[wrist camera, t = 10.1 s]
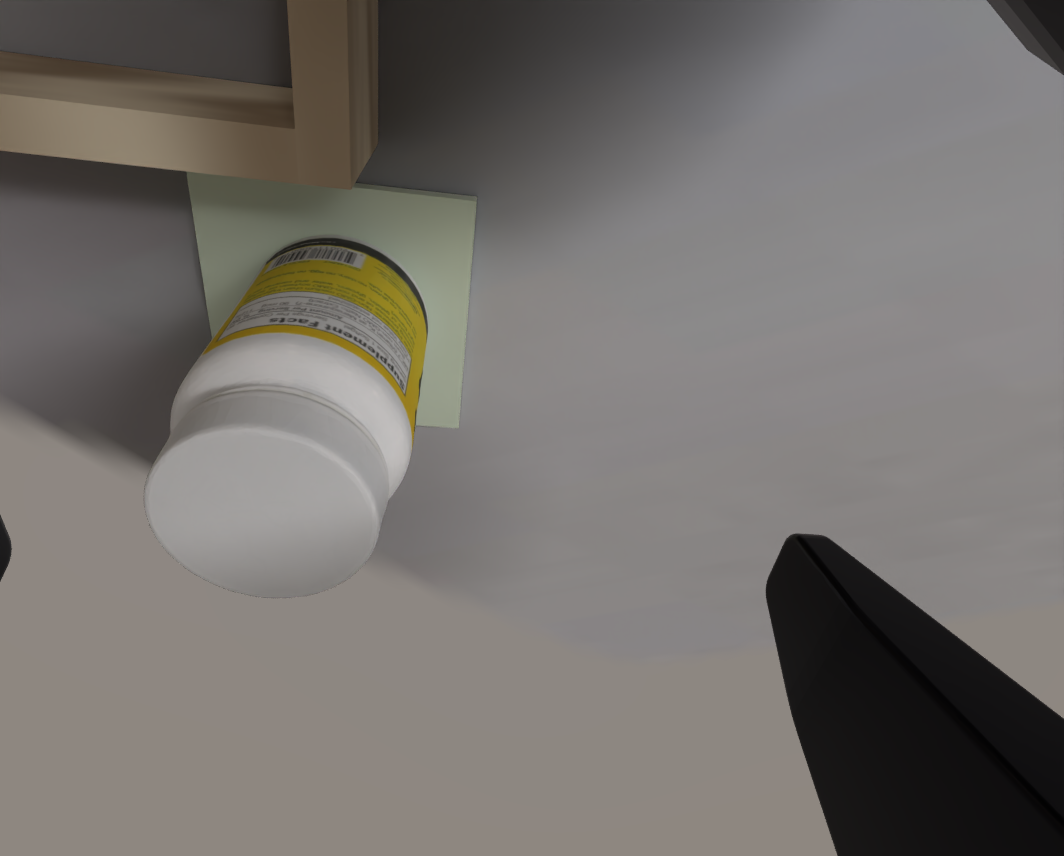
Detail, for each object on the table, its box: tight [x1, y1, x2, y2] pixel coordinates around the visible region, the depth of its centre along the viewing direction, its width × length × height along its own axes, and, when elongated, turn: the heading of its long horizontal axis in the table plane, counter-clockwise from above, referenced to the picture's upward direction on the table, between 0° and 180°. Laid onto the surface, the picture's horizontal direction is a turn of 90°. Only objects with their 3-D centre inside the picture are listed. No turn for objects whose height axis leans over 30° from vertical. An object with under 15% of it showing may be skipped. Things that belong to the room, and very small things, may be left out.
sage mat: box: [186, 171, 477, 428], centre depth 19 cm, size 7×7×1 cm
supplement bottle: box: [144, 235, 428, 598], centre depth 15 cm, size 5×5×8 cm
